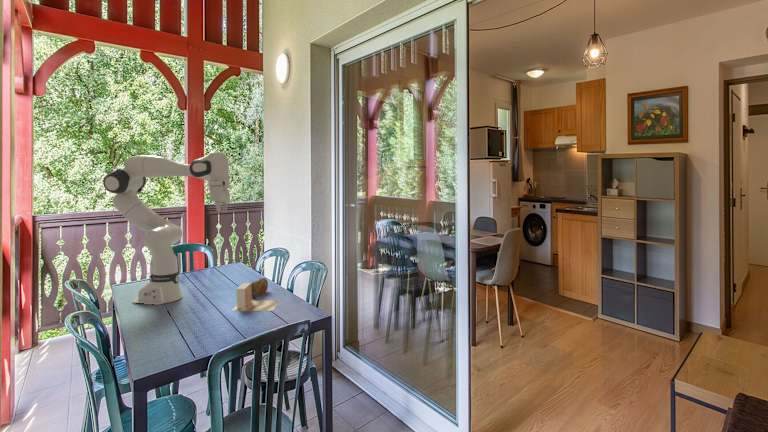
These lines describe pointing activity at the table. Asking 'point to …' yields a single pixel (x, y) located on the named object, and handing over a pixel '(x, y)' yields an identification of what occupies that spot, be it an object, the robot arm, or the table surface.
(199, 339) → the table surface
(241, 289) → the tile
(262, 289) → the tin
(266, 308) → the board
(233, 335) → the table surface
